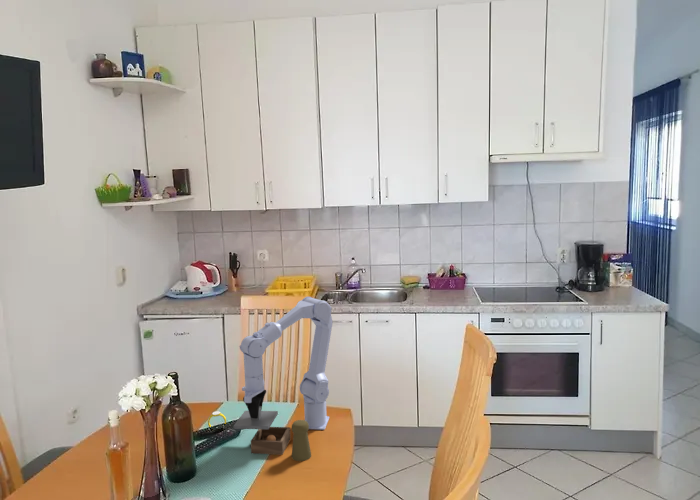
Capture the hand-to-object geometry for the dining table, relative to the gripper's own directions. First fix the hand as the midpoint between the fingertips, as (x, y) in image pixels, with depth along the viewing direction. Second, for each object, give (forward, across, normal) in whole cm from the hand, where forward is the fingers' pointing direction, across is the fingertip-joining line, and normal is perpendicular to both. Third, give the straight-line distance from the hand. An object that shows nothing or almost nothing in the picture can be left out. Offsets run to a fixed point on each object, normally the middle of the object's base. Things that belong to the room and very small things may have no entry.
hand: (255, 415), depth 167 cm
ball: (+8, 0, +5) cm, 9 cm away
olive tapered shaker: (+10, +5, +16) cm, 19 cm away
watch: (+10, -10, -17) cm, 23 cm away
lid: (+2, 0, 0) cm, 2 cm away
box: (+10, 0, +5) cm, 11 cm away
